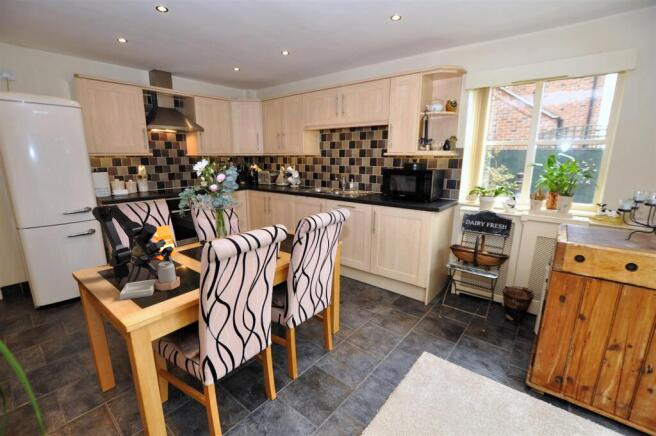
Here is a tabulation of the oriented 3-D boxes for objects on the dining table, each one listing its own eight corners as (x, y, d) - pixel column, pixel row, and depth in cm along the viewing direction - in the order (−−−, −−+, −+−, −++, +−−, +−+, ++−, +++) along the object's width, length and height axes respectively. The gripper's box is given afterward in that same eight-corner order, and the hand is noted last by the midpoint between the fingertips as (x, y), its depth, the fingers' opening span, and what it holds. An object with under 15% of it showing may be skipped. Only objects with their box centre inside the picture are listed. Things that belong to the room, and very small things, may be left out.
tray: (120, 300, 138) (119, 294, 137) (127, 288, 149) (126, 283, 149) (152, 295, 142) (151, 289, 142) (156, 284, 154) (155, 279, 153)
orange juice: (155, 257, 194) (151, 226, 190) (169, 253, 201) (166, 224, 196) (160, 259, 189) (156, 228, 185) (175, 256, 196) (171, 226, 191)
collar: (154, 291, 146) (154, 285, 145) (158, 283, 156) (157, 277, 155) (178, 288, 150) (178, 282, 149) (180, 280, 159) (179, 274, 159)
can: (169, 289, 148) (166, 266, 146) (156, 288, 150) (153, 265, 147) (179, 283, 156) (177, 261, 153) (167, 282, 157) (164, 260, 154)
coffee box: (131, 263, 183) (128, 237, 179) (132, 260, 188) (129, 235, 185) (149, 261, 187) (145, 235, 183) (149, 258, 192) (146, 233, 189)
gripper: (134, 240, 141) (154, 266, 139) (169, 230, 158) (187, 253, 156) (125, 254, 146) (144, 279, 144) (160, 243, 163) (177, 266, 161)
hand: (164, 268), depth 151 cm, fingers open, 9 cm apart
